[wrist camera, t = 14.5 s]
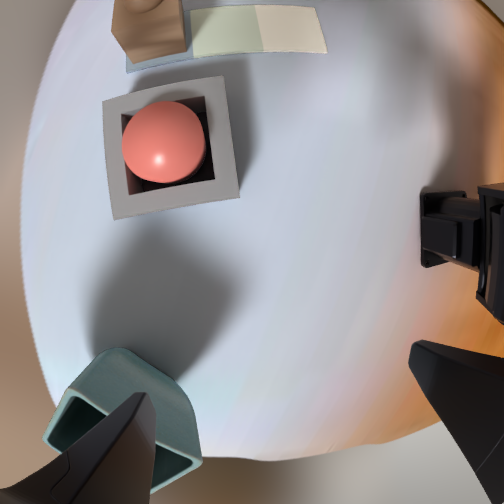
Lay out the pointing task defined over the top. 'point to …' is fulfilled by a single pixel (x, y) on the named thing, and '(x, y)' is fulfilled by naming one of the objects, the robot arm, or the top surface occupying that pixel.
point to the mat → (245, 32)
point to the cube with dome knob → (149, 28)
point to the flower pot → (115, 393)
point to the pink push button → (164, 143)
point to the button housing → (222, 188)
